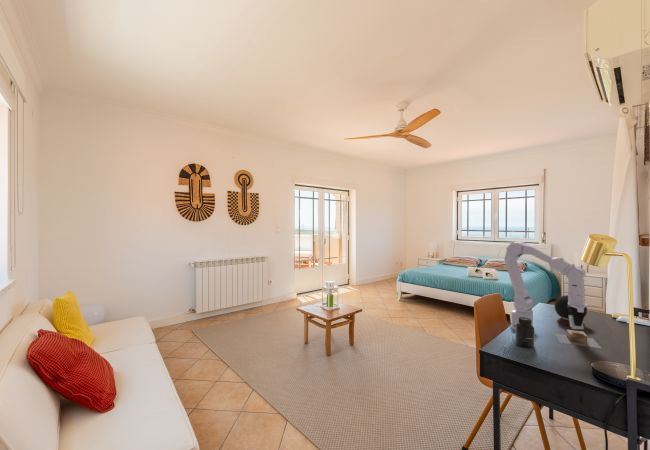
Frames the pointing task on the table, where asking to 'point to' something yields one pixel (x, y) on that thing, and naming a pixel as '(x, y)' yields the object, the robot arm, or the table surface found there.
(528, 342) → the supplement bottle
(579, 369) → the table surface
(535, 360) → the table surface
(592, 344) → the mat
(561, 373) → the table surface
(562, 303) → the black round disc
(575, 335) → the walnut block
